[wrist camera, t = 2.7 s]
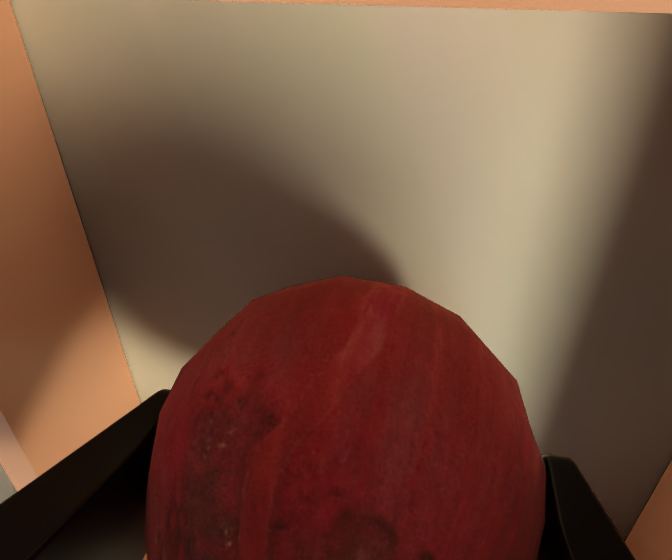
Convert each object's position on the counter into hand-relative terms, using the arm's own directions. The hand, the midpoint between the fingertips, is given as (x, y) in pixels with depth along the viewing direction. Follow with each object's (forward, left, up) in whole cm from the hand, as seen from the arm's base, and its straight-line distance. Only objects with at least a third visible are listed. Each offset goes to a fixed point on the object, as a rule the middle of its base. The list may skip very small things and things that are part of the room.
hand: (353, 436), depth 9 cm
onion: (0, 0, -3) cm, 3 cm away
